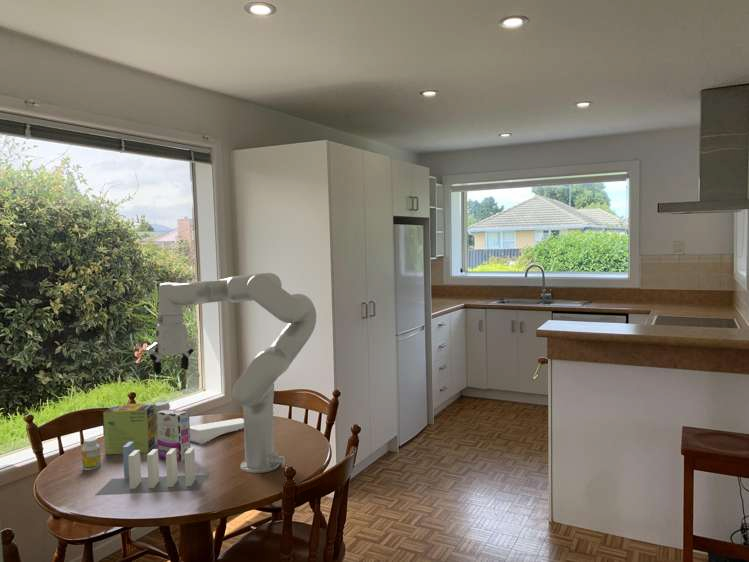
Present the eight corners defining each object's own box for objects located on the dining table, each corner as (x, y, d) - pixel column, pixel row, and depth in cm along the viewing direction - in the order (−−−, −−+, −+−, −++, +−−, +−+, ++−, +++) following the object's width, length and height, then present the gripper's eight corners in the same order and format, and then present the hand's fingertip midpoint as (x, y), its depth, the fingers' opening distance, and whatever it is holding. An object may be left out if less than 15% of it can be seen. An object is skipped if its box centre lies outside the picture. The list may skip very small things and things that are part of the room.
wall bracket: (239, 436, 236) (183, 447, 213) (237, 418, 238) (181, 427, 214) (256, 433, 231) (201, 444, 208) (254, 415, 232) (199, 424, 209)
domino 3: (177, 480, 175) (176, 448, 174) (172, 486, 170) (171, 453, 169) (172, 480, 175) (170, 448, 174) (167, 487, 170) (165, 454, 169)
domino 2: (159, 480, 174) (158, 449, 174) (153, 487, 169) (152, 454, 169) (154, 481, 174) (152, 449, 174) (148, 487, 169) (147, 455, 169)
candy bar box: (192, 458, 195) (190, 411, 194) (180, 463, 190) (178, 415, 190) (168, 453, 200) (166, 408, 199) (157, 458, 196) (155, 411, 195)
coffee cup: (151, 430, 228) (150, 401, 228) (173, 429, 229) (172, 399, 228) (145, 437, 220) (144, 406, 219) (168, 435, 221) (166, 405, 220)
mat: (208, 476, 179) (208, 474, 179) (199, 491, 167) (199, 490, 167) (111, 480, 177) (111, 478, 177) (94, 496, 165) (94, 495, 165)
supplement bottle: (100, 469, 187) (99, 440, 187) (82, 472, 185) (81, 443, 184) (100, 463, 192) (99, 435, 192) (83, 466, 190) (81, 438, 189)
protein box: (149, 452, 202) (147, 409, 201) (104, 455, 201) (102, 411, 200) (158, 443, 212) (156, 402, 212) (115, 445, 211) (113, 404, 210)
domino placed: (135, 471, 184) (133, 441, 183) (129, 477, 179) (127, 446, 178) (130, 472, 184) (128, 441, 183) (124, 478, 179) (122, 446, 178)
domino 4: (195, 479, 175) (194, 447, 174) (191, 485, 170) (189, 453, 169) (190, 479, 175) (189, 447, 174) (185, 486, 170) (184, 453, 169)
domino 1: (141, 481, 174) (139, 449, 174) (135, 488, 169) (133, 455, 169) (136, 482, 174) (134, 450, 174) (129, 488, 169) (128, 455, 169)
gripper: (151, 323, 178) (152, 377, 179) (200, 318, 191) (200, 369, 192) (140, 321, 183) (140, 373, 184) (188, 316, 196) (188, 365, 197)
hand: (171, 371), depth 188 cm, fingers open, 9 cm apart
